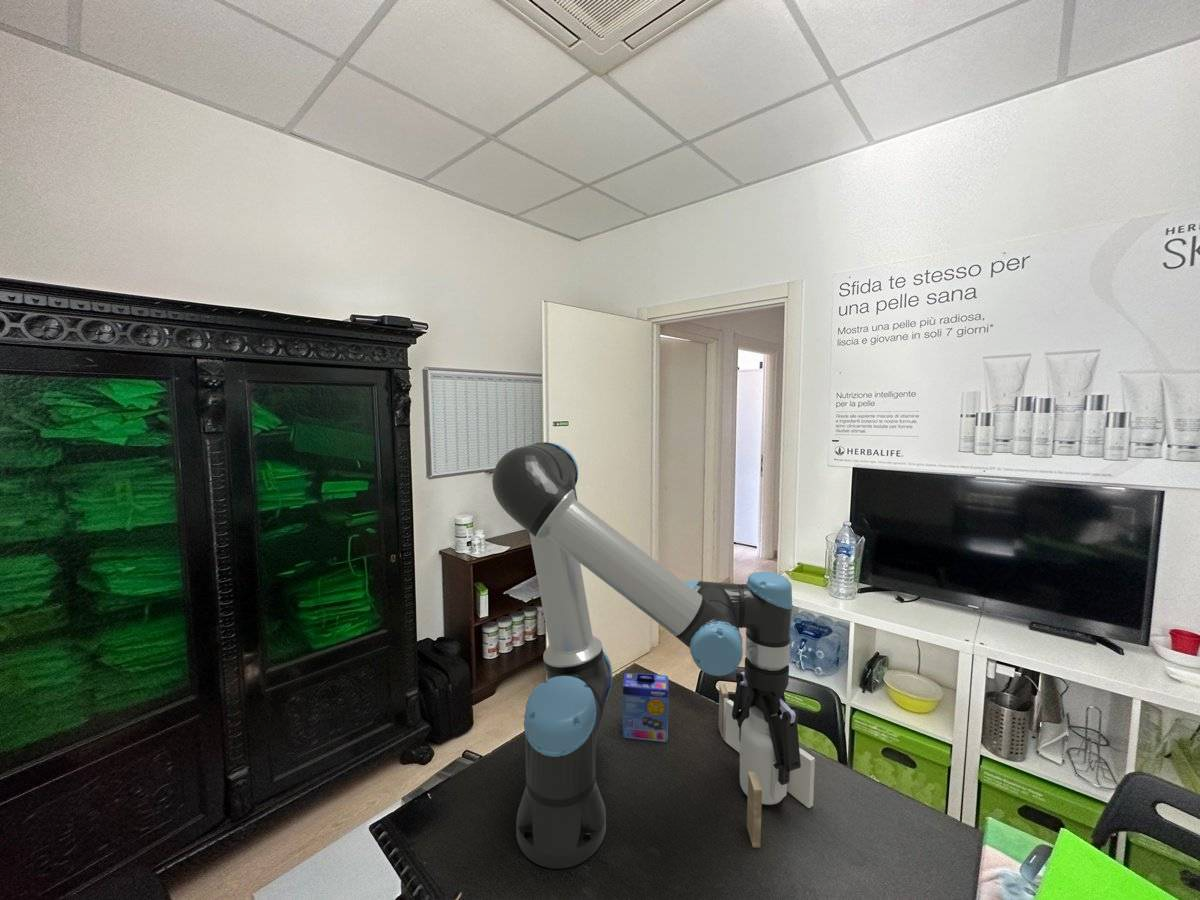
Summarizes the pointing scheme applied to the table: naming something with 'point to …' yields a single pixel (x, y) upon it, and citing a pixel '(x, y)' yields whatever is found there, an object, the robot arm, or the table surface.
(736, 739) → the door
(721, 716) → the oak wall
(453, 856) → the table surface
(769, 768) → the pill bottle
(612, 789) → the table surface
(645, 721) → the ink cartridge box
